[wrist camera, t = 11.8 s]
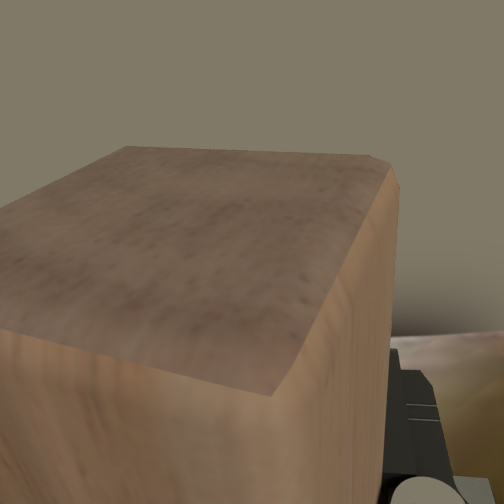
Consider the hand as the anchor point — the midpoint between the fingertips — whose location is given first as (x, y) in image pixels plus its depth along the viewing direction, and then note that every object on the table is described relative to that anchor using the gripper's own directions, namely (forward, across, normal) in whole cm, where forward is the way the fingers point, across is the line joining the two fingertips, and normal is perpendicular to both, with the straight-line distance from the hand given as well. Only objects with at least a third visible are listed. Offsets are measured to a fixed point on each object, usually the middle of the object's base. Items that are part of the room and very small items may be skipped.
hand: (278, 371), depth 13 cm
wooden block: (-3, 0, +11) cm, 12 cm away
